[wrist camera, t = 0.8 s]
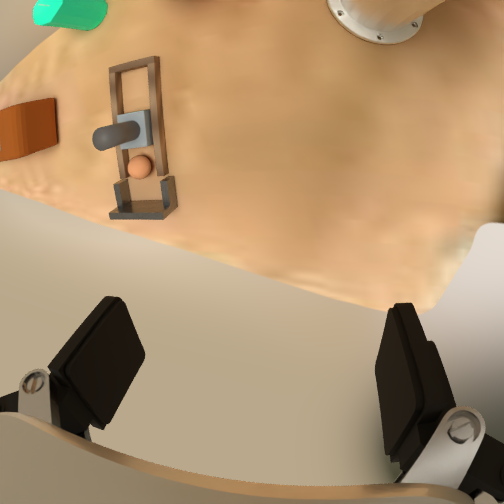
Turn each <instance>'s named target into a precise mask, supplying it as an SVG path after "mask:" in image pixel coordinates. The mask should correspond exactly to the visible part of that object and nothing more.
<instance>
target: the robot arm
mask: <svg viewBox="0 0 504 504" xmlns="http://www.w3.org/2000/svg"><path fill="white" fill-rule="evenodd" d="M326 1H327V4H328V7H329V9H330V11H331V13H332V15H333V16H334V17H335V19H336V20H337V21H338V22H339V23H340V24H341V25H342V26H343V27H344V28H345V29H346V30H348V31H349V32H350V33H352V34H353V35H355V36H357V37H359V38H361V39H363V40H366V41H369V42H372V43H377V44H397V43H401V42H403V41H406V40H408V39H409V38H411V37H412V36H414V35H415V34H416V33H417V32H418V30H419V29H420V27H421V25H422V22H423V16H424V14H425V13H426V12H428V11H429V10H431V9H433V8H434V7H436V6H437V5H439V4H441V3H442V2H444V1H446V0H326ZM338 14H341V15H342V16H338ZM412 25H414V27H413V26H412ZM377 37H380V38H381V39H380V40H379V39H378V38H377ZM144 359H145V351H144V349H143V346H142V344H141V342H140V339H139V337H138V334H137V332H136V329H135V327H134V325H133V322H132V319H131V317H130V315H129V312H128V309H127V306H126V304H125V303H124V301H122V299H121V298H119V297H113V296H106V297H104V298H103V299H102V301H101V302H100V303H99V304H98V305H97V306H96V307H95V309H94V310H93V311H92V312H91V313H90V315H89V316H88V317H87V318H86V319H85V320H84V322H83V323H82V324H81V325H80V327H79V328H78V329H77V330H76V331H75V333H74V334H73V335H72V336H71V337H70V339H69V340H68V341H67V342H66V344H65V345H64V346H63V347H62V349H61V350H60V351H59V353H58V354H57V355H56V356H55V358H54V359H53V360H52V362H51V363H50V364H49V365H48V368H49V370H50V371H51V373H50V375H49V374H48V373H47V372H46V371H45V370H43V369H35V370H32V371H30V372H29V373H27V374H26V375H25V376H24V377H23V378H22V380H21V382H20V386H19V391H16V392H14V393H11V394H8V395H5V396H3V397H0V504H504V444H503V443H501V442H499V441H498V440H496V439H494V438H492V437H490V436H489V435H487V434H485V422H484V420H483V417H482V416H481V415H480V414H479V412H478V411H476V410H475V409H473V408H470V407H467V406H458V407H456V403H455V401H454V397H453V394H452V391H451V388H450V384H449V381H448V378H447V375H446V373H445V370H444V367H443V364H442V361H441V358H440V356H439V353H438V350H437V348H436V345H435V343H434V342H433V341H427V339H426V336H425V333H424V331H423V328H422V326H421V323H420V321H419V318H418V316H417V313H416V311H415V308H414V306H413V304H412V303H396V304H395V305H394V307H393V308H389V310H388V314H387V318H386V323H385V328H384V332H383V336H382V340H381V344H380V349H379V352H378V356H377V360H376V364H375V376H376V382H377V389H378V396H379V403H380V411H381V419H382V429H383V438H384V449H385V454H386V455H390V459H391V462H400V469H401V470H403V471H402V472H401V474H400V475H399V476H398V477H397V479H396V480H395V481H394V483H388V484H371V485H353V486H352V485H351V486H294V485H293V486H292V485H276V484H264V483H253V482H245V481H238V480H230V479H224V478H218V477H212V476H206V475H201V474H196V473H192V472H187V471H182V470H178V469H174V468H170V467H166V466H163V465H159V464H155V463H152V462H148V461H145V460H142V459H138V458H135V457H132V456H129V455H126V454H123V453H120V452H117V451H114V450H112V449H109V448H106V447H103V446H101V445H98V444H96V443H93V442H92V441H91V437H90V433H89V428H88V427H89V425H90V424H91V425H92V426H93V427H96V428H99V429H101V430H104V428H105V426H106V424H109V423H110V422H111V420H112V418H113V416H114V414H115V412H116V411H117V409H118V407H119V405H120V403H121V401H122V399H123V397H124V396H125V394H126V392H127V390H128V388H129V386H130V385H131V383H132V381H133V379H134V377H135V376H136V374H137V372H138V370H139V368H140V367H141V365H142V363H143V361H144Z"/></svg>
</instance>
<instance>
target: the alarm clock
mask: <svg viewBox="0 0 504 504" xmlns="http://www.w3.org/2000/svg"><path fill="white" fill-rule="evenodd" d="M56 144H57V135H56V123H55V104H54V98H48V99H42V100H36V101H31V102H26V103H21V104H17V105H14V106H11V107H8V108H6V109H3V110H1V111H0V162H1V161H7V160H12V159H17V158H21V157H24V156H27V155H29V154H32V153H35V152H37V151H40V150H43V149H46V148H48V147H51V146H54V145H56Z"/></svg>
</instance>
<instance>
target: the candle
mask: <svg viewBox="0 0 504 504" xmlns="http://www.w3.org/2000/svg"><path fill="white" fill-rule="evenodd" d="M106 14H107V3H106V1H105V0H38V2H37V3H36V5H35V7H34V8H33V19H34V22H35V24H37V25H42V26H54V27H63V28H72V29H79V30H86V31H88V30H91V29H94V28H96V27H97V26H98V25H99V24H100V23H101V22H102V21H103V19H104V17H105V15H106Z"/></svg>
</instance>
